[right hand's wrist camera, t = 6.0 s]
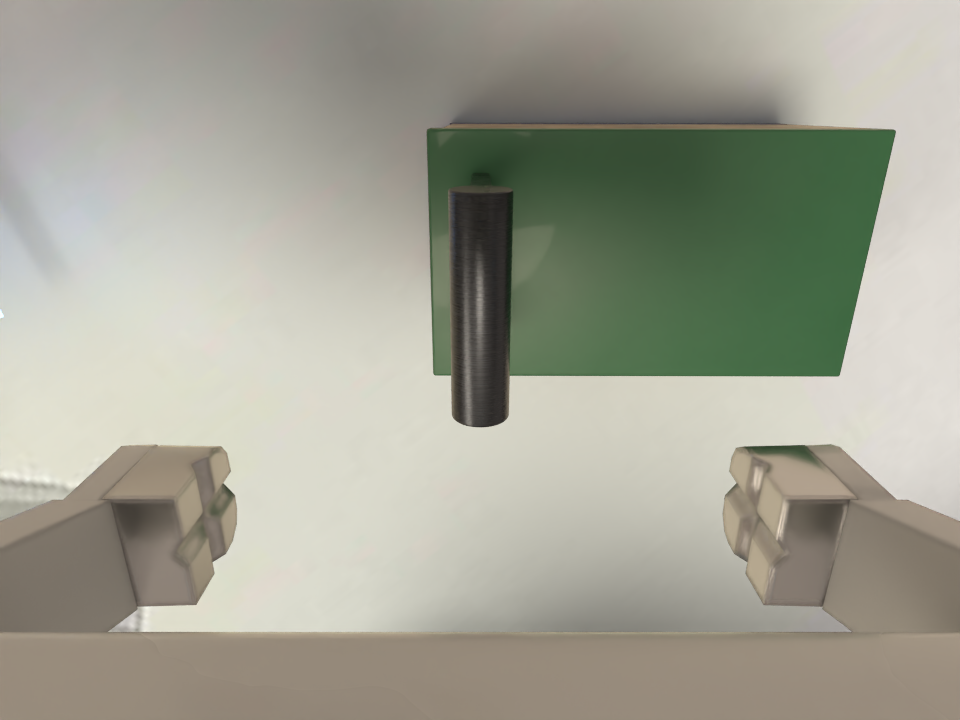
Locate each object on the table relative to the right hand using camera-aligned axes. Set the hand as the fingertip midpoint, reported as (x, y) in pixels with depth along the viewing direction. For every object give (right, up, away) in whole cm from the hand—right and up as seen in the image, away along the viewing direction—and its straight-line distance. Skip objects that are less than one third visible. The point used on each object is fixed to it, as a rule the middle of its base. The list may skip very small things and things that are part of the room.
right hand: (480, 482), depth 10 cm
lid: (+7, +6, +16) cm, 19 cm away
